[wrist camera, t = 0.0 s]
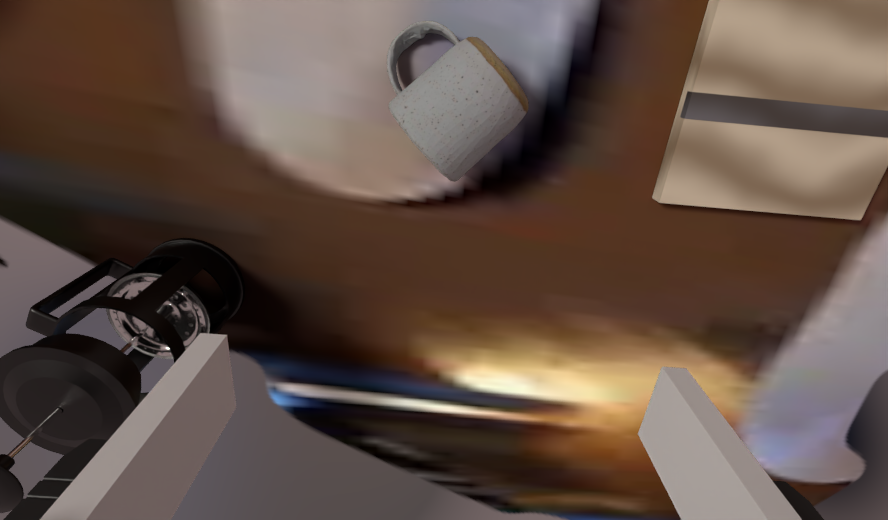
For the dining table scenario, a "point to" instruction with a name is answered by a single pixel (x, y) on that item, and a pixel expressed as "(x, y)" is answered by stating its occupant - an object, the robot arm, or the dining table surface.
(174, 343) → the french press
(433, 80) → the ceramic mug
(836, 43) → the plywood board
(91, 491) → the robot arm
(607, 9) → the dining table surface
